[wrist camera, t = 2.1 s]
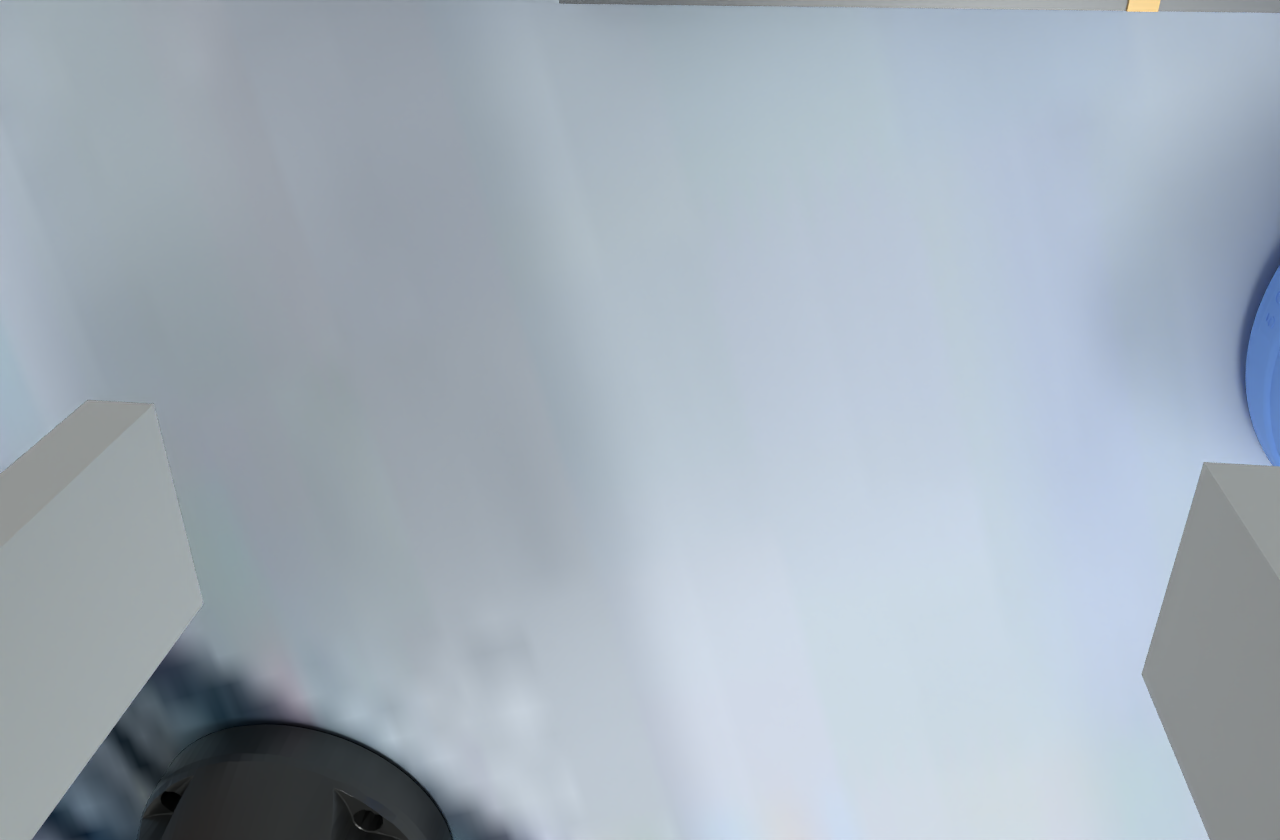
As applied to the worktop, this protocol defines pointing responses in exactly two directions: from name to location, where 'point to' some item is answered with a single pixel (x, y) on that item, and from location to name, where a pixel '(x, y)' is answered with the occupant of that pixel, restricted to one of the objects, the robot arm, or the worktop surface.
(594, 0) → the console
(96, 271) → the worktop surface
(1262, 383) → the water jug
